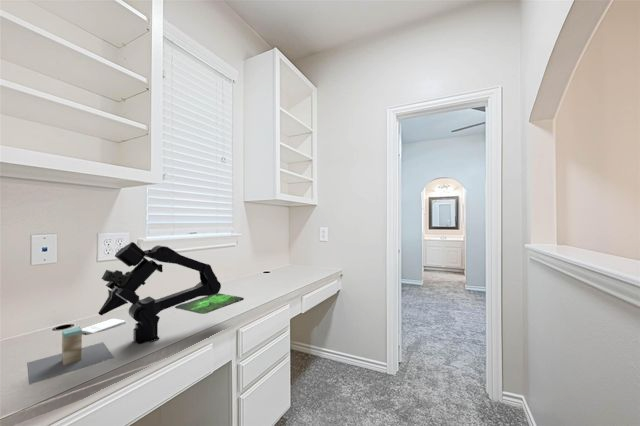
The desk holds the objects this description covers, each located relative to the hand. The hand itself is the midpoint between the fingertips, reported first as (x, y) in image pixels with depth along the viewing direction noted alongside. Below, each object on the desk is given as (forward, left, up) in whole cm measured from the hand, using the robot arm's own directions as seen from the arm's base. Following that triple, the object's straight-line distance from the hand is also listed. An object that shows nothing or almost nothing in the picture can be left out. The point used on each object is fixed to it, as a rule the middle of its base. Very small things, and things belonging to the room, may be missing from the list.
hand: (99, 314), depth 88 cm
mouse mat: (-49, -24, -13) cm, 57 cm away
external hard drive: (-6, -26, -13) cm, 30 cm away
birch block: (+7, 0, -12) cm, 14 cm away
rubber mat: (+7, 0, -13) cm, 14 cm away
